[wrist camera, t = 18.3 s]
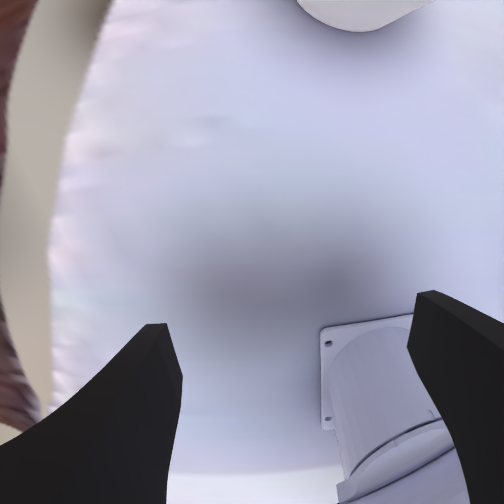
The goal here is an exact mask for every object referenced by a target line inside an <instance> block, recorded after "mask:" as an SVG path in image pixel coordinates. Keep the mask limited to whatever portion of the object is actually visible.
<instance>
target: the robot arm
mask: <svg viewBox="0 0 504 504" xmlns="http://www.w3.org/2000/svg"><path fill="white" fill-rule="evenodd" d="M328 340H330V341H331V343H329V344H325V342H326V341H328ZM320 359H321V427H322V429H323V430H324V431H330V430H335V431H336V436H337V441H338V446H339V451H340V456H341V461H342V467H343V472H344V478H345V481H343V482H341V483H339V484H337V485H336V487H337V494H338V500H339V503H337V504H504V323H502V322H500V321H498V320H496V319H494V318H492V317H490V316H488V315H486V314H484V313H482V312H480V311H478V310H476V309H474V308H472V307H470V306H468V305H466V304H464V303H462V302H460V301H458V300H456V299H454V298H452V297H450V296H447V295H445V294H443V293H440V292H438V291H435V290H432V291H426V292H421V293H417V297H416V303H415V308H414V314H410V315H404V316H399V317H393V318H387V319H381V320H375V321H369V322H362V323H356V324H349V325H342V326H335V327H327V328H324V329H323V330H322V331H321V332H320ZM182 380H183V375H182V372H181V369H180V366H179V363H178V360H177V356H176V353H175V350H174V347H173V343H172V340H171V337H170V333H169V330H168V326H167V323H161V324H146V325H145V326H144V327H143V328H142V329H141V330H140V331H139V332H138V333H137V334H136V335H135V336H134V337H133V338H132V339H131V340H130V341H129V342H128V343H127V344H126V345H125V346H124V347H123V348H122V349H121V350H120V351H119V352H118V353H117V354H116V355H115V356H114V357H113V358H112V359H111V361H110V362H109V363H108V364H107V365H106V366H105V367H104V368H103V369H102V370H101V371H100V372H99V373H97V374H96V375H95V376H94V377H93V378H92V379H91V380H90V381H89V382H88V383H87V384H86V385H85V386H84V387H83V388H81V389H80V390H79V391H78V392H77V393H76V394H75V395H74V396H73V397H71V398H70V399H69V400H68V401H67V402H65V403H64V404H63V405H62V406H60V407H59V408H58V409H56V410H55V411H54V412H53V413H51V414H50V415H49V416H47V417H46V418H45V419H43V420H42V421H40V422H39V423H37V424H35V425H34V426H32V427H31V428H29V429H28V430H26V431H25V432H23V433H22V434H20V435H19V436H17V437H15V438H13V439H12V440H10V441H8V442H6V443H4V444H2V445H1V446H0V504H166V495H167V480H168V472H169V466H170V460H171V455H172V450H173V444H174V439H175V434H176V429H177V424H178V418H179V413H180V408H181V397H182ZM326 417H328V418H326Z"/></svg>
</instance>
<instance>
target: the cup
mask: <svg viewBox="0 0 504 504" xmlns="http://www.w3.org/2000/svg"><path fill="white" fill-rule="evenodd" d="M296 1H297V2H298V3H299V5H300V6H301V7H302V8H303V9H304V10H305V11H306V12H307V13H309V14H310V15H311V16H313V17H314V18H316V19H317V20H319V21H321V22H323V23H325V24H327V25H329V26H331V27H334V28H337V29H341V30H345V31H352V32H367V31H373V30H377V29H379V28H382V27H384V26H385V25H387V24H389V23H391V22H393V21H395V20H397V19H399V18H401V17H403V16H404V15H406V14H408V13H410V12H412V11H414V10H416V9H418V8H420V7H423V6H425V5H427V4H429V3H431V2H433V1H435V0H296Z"/></svg>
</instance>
